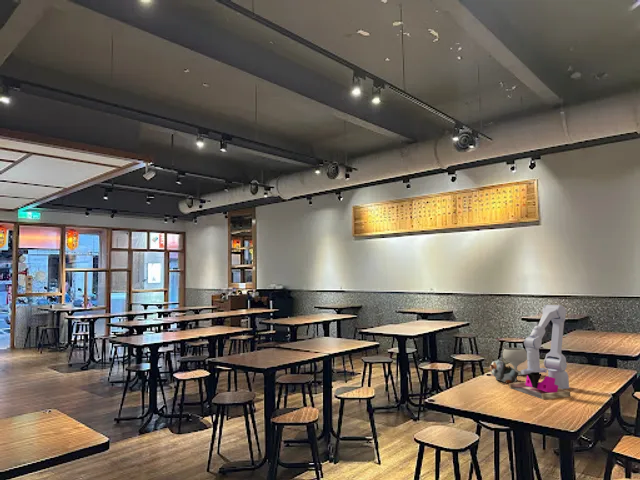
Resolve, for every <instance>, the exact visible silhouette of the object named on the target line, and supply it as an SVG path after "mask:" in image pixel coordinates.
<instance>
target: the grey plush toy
mask: <svg viewBox="0 0 640 480" xmlns="http://www.w3.org/2000/svg"><path fill="white" fill-rule="evenodd" d="M489 370H490V373H491V374H492V376H493V377H495V380H496V381H500V382H502V383H506V384H508V385H509V383H517V381H518V376H519V375H518V372H516V371H515V370H514V367H513V366H510V365H506V364H505V362H504V361H502V360H501V359H497V360H495V359H491V364H490V365H489Z"/></svg>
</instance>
